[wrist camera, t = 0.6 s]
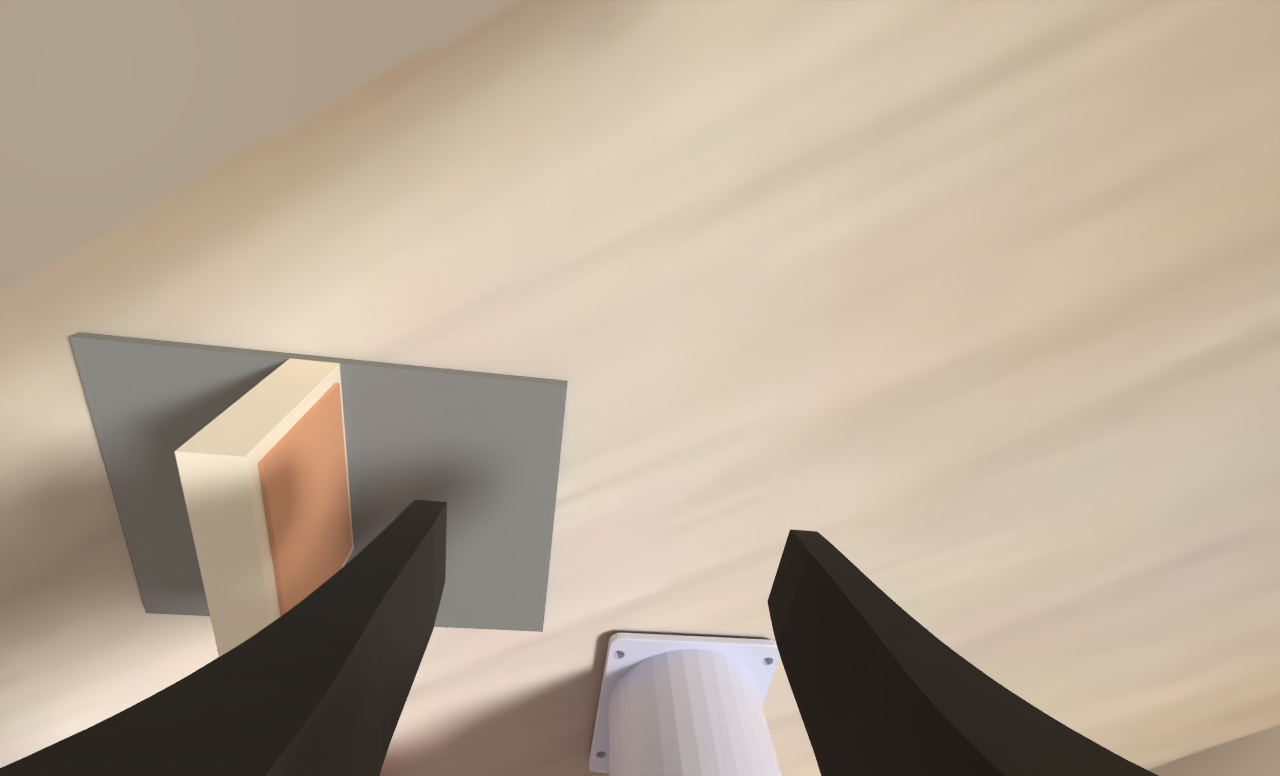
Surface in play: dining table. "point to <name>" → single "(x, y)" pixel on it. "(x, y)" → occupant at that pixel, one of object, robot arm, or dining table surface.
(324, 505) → the block
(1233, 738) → the dining table surface
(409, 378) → the mat
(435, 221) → the dining table surface
